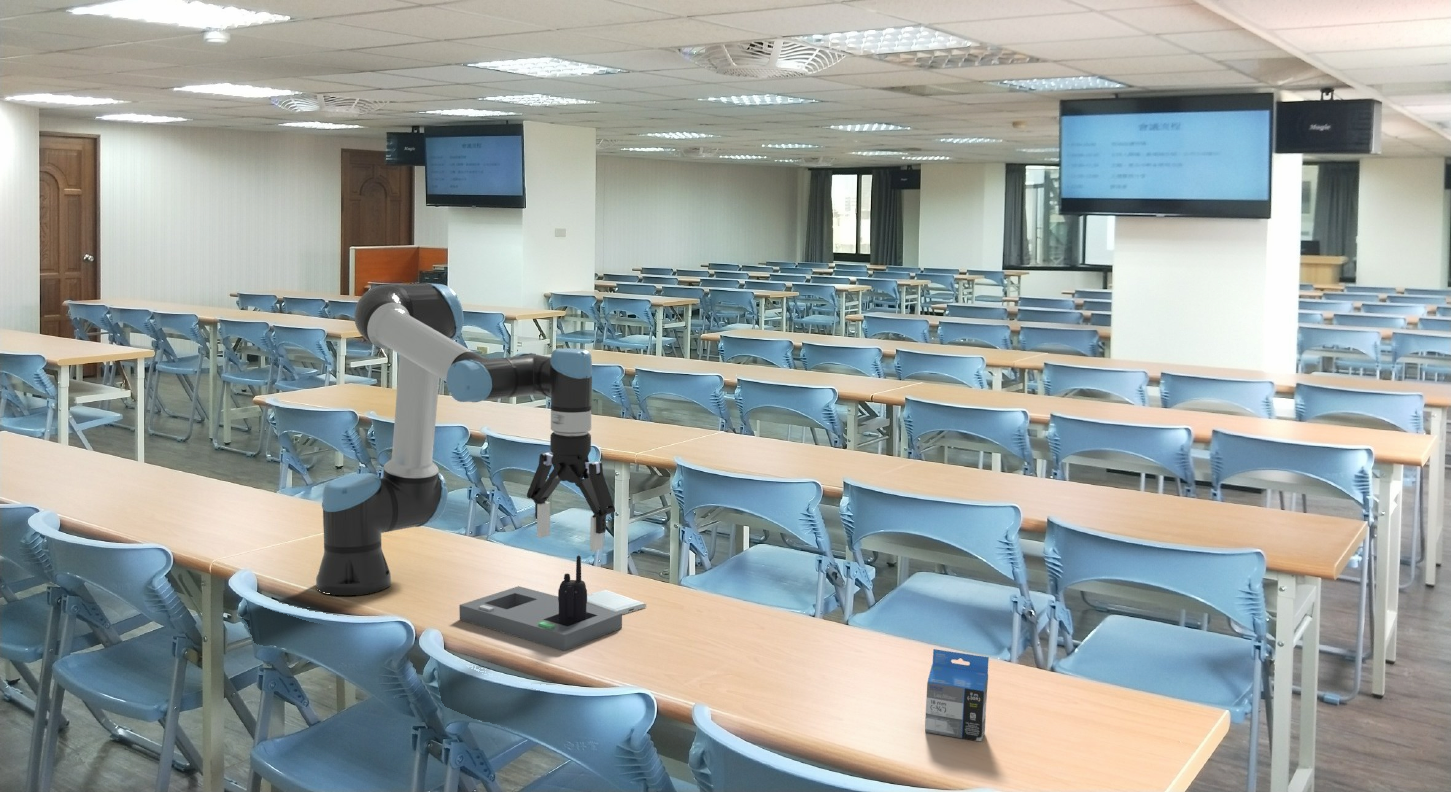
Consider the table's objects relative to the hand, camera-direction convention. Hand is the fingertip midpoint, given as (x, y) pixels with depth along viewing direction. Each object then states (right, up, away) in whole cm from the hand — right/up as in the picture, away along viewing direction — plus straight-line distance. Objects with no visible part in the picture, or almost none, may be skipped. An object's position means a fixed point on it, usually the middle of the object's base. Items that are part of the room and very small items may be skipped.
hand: (569, 543), depth 226 cm
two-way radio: (0, -18, +2) cm, 18 cm away
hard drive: (+6, -16, +20) cm, 26 cm away
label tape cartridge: (+65, -25, -40) cm, 80 cm away
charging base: (-7, -17, +7) cm, 19 cm away
